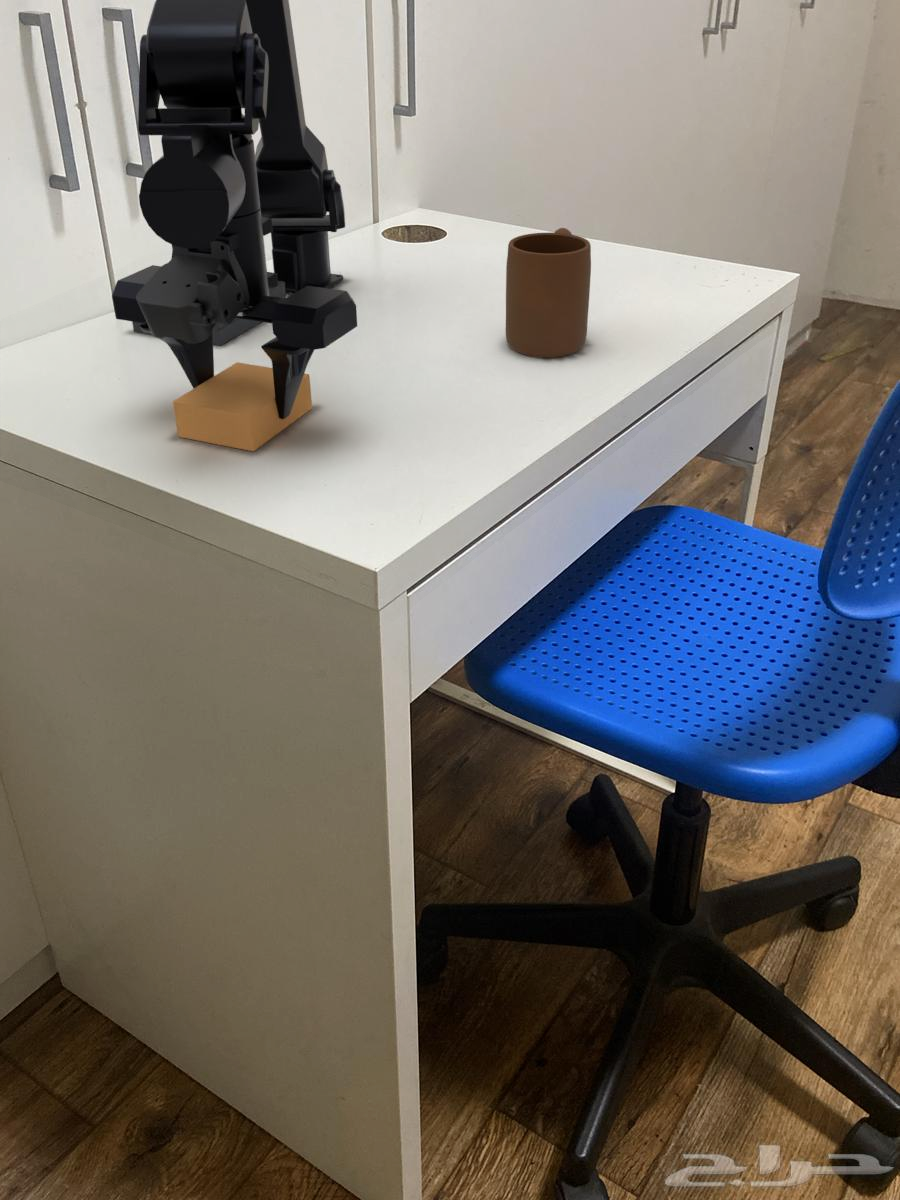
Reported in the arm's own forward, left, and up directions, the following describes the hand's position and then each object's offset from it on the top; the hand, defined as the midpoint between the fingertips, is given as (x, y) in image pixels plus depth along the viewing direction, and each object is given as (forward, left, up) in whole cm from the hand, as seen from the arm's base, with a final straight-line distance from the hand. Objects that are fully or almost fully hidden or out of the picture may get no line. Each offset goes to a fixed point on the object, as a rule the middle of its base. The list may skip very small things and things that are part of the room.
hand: (245, 410), depth 88 cm
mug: (-28, +16, -1) cm, 32 cm away
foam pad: (0, 0, -1) cm, 1 cm away
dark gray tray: (-20, -17, -1) cm, 26 cm away
